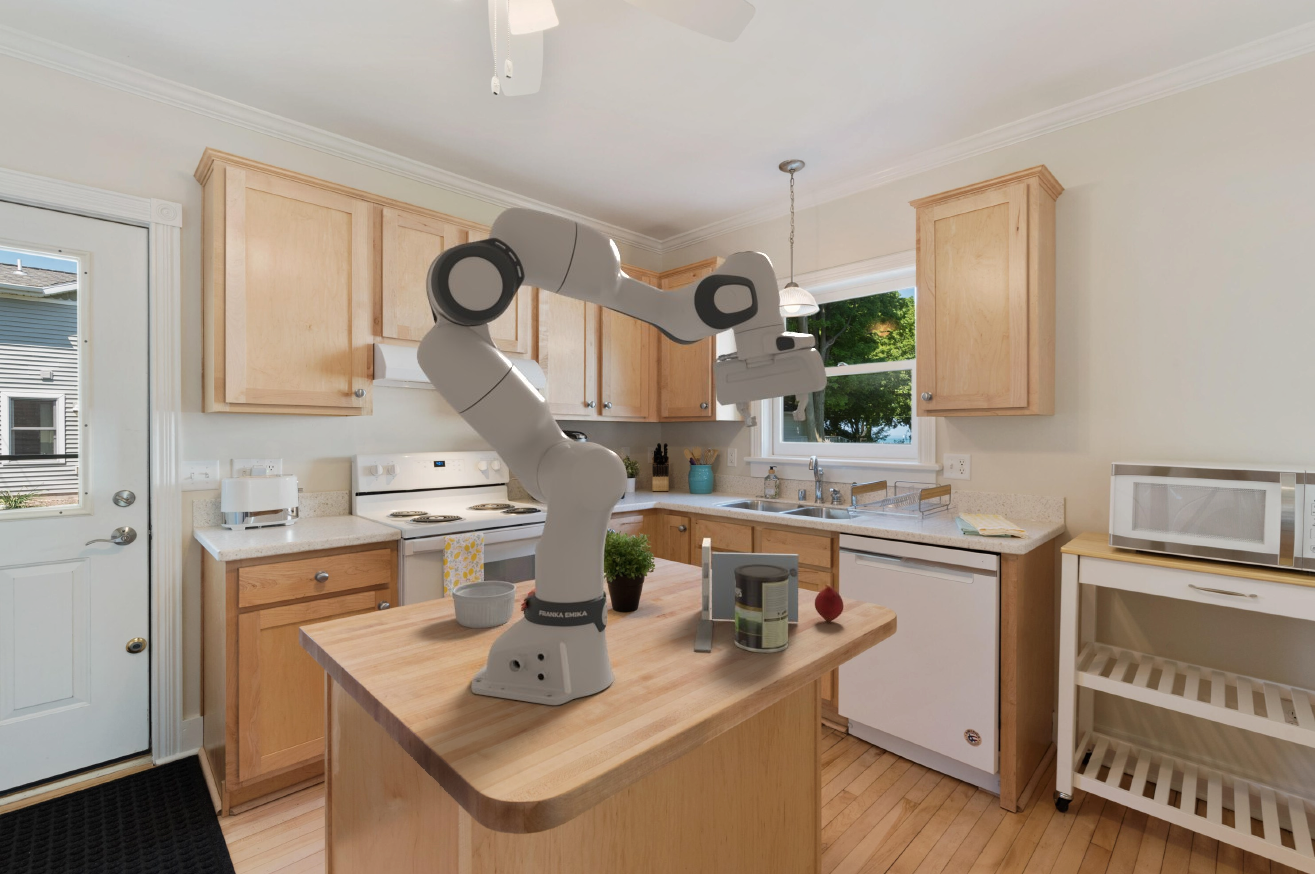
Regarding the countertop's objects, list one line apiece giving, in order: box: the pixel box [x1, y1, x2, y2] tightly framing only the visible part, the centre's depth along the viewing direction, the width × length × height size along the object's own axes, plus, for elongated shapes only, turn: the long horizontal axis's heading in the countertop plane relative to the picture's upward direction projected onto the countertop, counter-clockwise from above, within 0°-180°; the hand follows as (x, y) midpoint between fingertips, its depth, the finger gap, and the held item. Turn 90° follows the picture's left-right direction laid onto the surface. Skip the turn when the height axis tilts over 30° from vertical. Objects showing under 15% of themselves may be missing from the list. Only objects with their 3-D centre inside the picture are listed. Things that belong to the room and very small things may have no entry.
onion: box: [814, 583, 844, 623], centre depth 131 cm, size 6×6×8 cm
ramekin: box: [451, 580, 517, 629], centre depth 132 cm, size 13×13×7 cm
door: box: [711, 551, 799, 623], centre depth 130 cm, size 18×3×14 cm, turn 84°
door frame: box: [694, 537, 714, 653], centre depth 128 cm, size 3×28×16 cm, turn 174°
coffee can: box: [733, 564, 789, 654], centre depth 118 cm, size 10×10×14 cm
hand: (775, 423), depth 110 cm, fingers open, 8 cm apart
